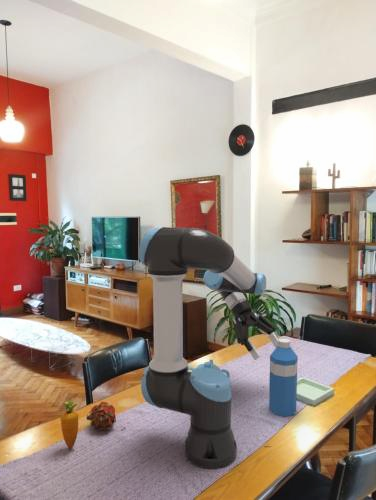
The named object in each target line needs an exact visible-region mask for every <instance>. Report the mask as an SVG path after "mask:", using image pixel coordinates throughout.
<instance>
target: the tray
mask: <svg viewBox="0 0 376 500" xmlns="http://www.w3.org/2000/svg"><path fill="white" fill-rule="evenodd" d="M333 396H335V388H333V387H330V386H328V385H326V384H322V383H320V382H317V381H315V380H311V379H309V378H305V377H303V376H301V377H299V378H297V400H296V401H298V402H301V403H303V404H306V405H308V406H310V407H313V408H315V407H316V406H318V405H320V404H321V403H323V402H325V401H326V400H328V399H330V398H332V397H333Z"/></svg>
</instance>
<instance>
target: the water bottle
mask: <svg viewBox="0 0 376 500" xmlns="http://www.w3.org/2000/svg"><path fill="white" fill-rule="evenodd" d="M278 339H279V340H278V346H277V348H274V350H273V351H272V352H271V354H270V356H269V392H268V395H269V397H268V398H269V399H268V409H269V411H270V412H271V413H272V414H273V415H276V416H279V417H283V418H285V417H292V416H295V414H296V412H297V401H298V400H297V379H298V355H297V354H296V352H295V350H293V348H292V347H291V340H290V339H288V338H278Z"/></svg>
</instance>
